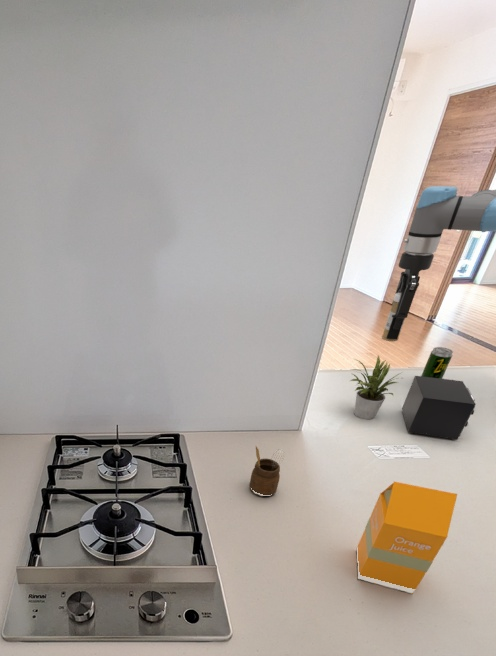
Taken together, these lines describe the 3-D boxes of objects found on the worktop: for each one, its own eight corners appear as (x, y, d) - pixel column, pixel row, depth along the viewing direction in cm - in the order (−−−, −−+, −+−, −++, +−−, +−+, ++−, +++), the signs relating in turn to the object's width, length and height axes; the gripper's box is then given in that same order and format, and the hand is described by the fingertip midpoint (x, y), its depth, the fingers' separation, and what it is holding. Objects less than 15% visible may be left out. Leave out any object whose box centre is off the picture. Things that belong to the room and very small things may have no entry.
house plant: (332, 397, 132) (347, 346, 123) (382, 402, 129) (402, 350, 119) (338, 422, 121) (355, 367, 111) (394, 428, 117) (416, 372, 108)
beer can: (413, 383, 138) (428, 347, 131) (428, 381, 138) (443, 346, 131) (426, 391, 133) (442, 354, 126) (441, 389, 134) (458, 352, 127)
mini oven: (450, 417, 121) (468, 381, 115) (462, 442, 111) (482, 405, 105) (400, 410, 125) (415, 375, 118) (407, 434, 115) (423, 397, 109)
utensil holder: (280, 497, 97) (291, 453, 90) (252, 499, 96) (261, 455, 89) (270, 480, 101) (280, 437, 94) (244, 482, 101) (252, 439, 94)
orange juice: (355, 549, 84) (390, 467, 72) (408, 562, 81) (453, 479, 69) (357, 580, 78) (395, 497, 66) (413, 595, 75) (464, 511, 64)
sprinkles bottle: (401, 341, 130) (417, 295, 123) (386, 342, 130) (401, 296, 123) (392, 336, 134) (407, 291, 127) (377, 336, 134) (392, 292, 126)
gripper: (398, 246, 126) (374, 325, 139) (407, 259, 113) (379, 344, 126) (428, 246, 124) (400, 327, 137) (441, 260, 110) (409, 347, 124)
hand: (390, 335), depth 132 cm, fingers closed on sprinkles bottle, 4 cm apart
